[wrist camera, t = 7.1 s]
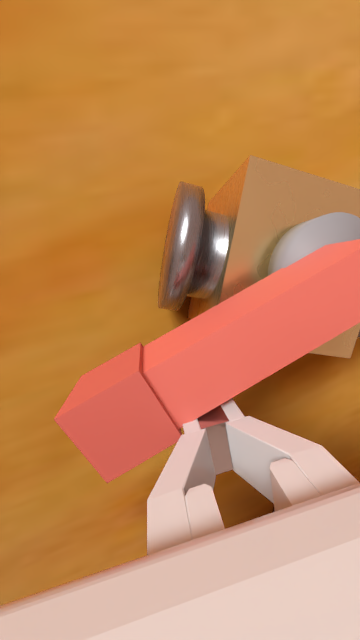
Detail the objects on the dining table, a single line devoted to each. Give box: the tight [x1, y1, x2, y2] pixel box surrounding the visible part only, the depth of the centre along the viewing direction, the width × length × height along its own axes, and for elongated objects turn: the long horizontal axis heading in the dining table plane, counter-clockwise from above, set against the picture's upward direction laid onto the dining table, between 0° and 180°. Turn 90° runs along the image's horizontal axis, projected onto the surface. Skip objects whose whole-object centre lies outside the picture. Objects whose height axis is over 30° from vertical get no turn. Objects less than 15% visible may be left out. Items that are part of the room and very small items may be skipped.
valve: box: [158, 155, 360, 358], centre depth 13 cm, size 8×13×6 cm, turn 80°
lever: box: [54, 212, 360, 483], centre depth 8 cm, size 13×4×4 cm, turn 119°
